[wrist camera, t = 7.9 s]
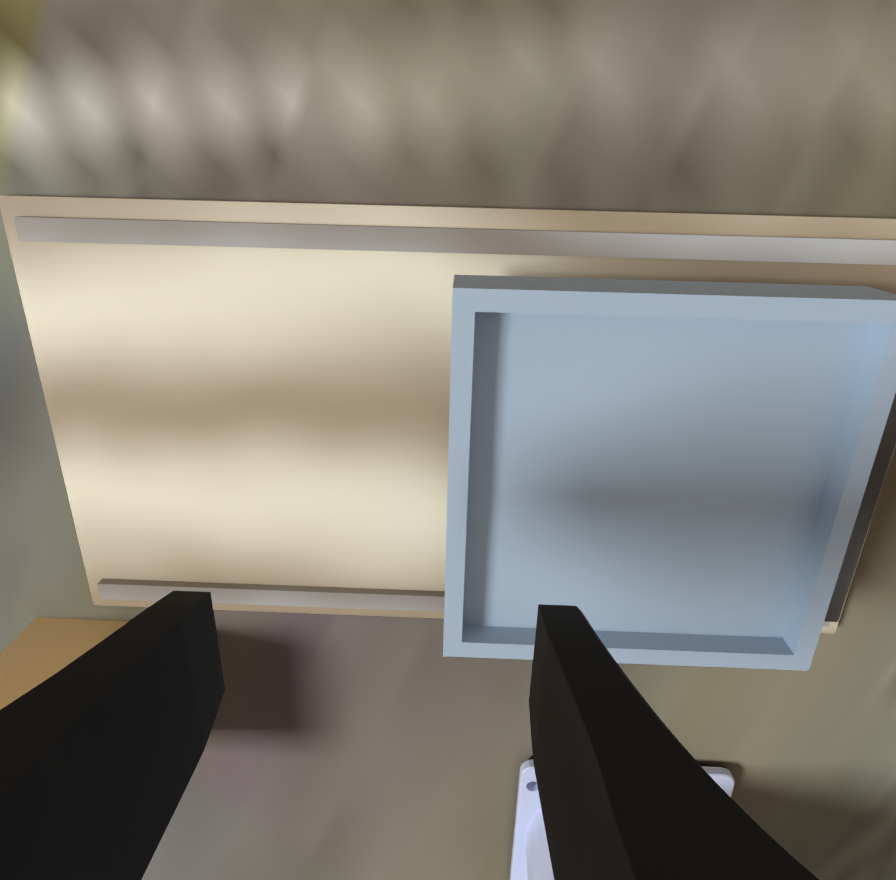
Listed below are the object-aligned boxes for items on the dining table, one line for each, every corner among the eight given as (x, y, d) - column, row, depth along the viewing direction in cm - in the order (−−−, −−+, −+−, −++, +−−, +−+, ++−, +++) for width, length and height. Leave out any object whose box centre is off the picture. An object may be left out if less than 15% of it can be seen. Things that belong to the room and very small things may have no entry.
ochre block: (195, 727, 24) (130, 857, 19) (66, 721, 24) (-29, 849, 19) (177, 621, 22) (101, 737, 17) (38, 615, 22) (-75, 729, 18)
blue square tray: (755, 594, 20) (808, 670, 17) (447, 582, 20) (443, 656, 17) (836, 278, 16) (924, 301, 13) (455, 267, 17) (452, 287, 13)
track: (828, 625, 21) (870, 677, 19) (99, 597, 22) (58, 644, 19) (957, 219, 16) (1034, 225, 14) (7, 195, 17) (-64, 197, 14)
